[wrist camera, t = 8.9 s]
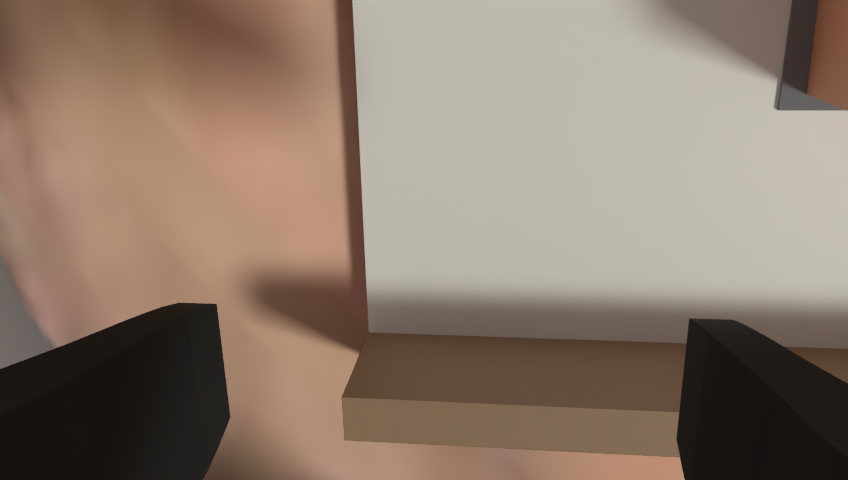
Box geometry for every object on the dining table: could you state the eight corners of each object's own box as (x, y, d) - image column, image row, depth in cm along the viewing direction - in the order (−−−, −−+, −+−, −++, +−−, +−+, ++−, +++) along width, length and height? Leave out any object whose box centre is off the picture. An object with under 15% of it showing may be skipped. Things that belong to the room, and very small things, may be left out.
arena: (1117, 388, 20) (1260, 486, 16) (374, 360, 22) (344, 440, 18) (1348, -332, 15) (1643, -441, 11) (344, -271, 17) (294, -343, 13)
